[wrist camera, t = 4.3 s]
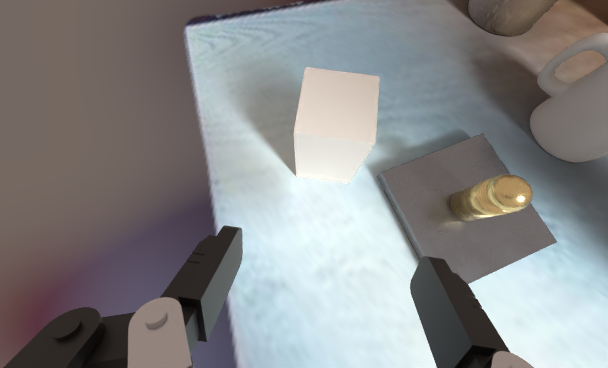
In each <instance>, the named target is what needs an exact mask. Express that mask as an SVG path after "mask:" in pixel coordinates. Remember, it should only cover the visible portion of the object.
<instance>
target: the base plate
mask: <svg viewBox="0 0 608 368" xmlns="http://www.w3.org/2000/svg"><path fill="white" fill-rule="evenodd" d="M378 179H379V181H380V183H381V185H382V187H383V189H384V191H385V193H386V195H387V197H388V199H389V201H390V203H391V205H392V207H393V208H394V210H395V212H396V214H397V216H398V218H399V220H400V222H401V224H402V226H403V228H404V230H405V232H406V234H407V236H408V238H409V240H410V242H411V243H412V245H413V247H414V249H415V251H416V253H417V255H418V257H419V259H420V260H421V259H422V257H423V256H428V257H435V258H442V259H444V260H445V261H446V262H447V264H448V266H449V267H450V269H451V271H452V272H453V273H457V274H458V275H459V276H460V277H461V278H462V279H463V280H464V281H465V282H466V283H467V284H469V283H471V282H473V281H475V280H478V279H480V278H482V277H484V276H486V275H488V274H490V273H492V272H494V271H497V270H499V269H501V268H503V267H505V266H507V265H509V264H511V263H514V262H516V261H518V260H520V259H522V258H524V257H526V256H528V255H530V254H533V253H535V252H537V251H539V250H541V249H543V248H545V247H547V246H550V245H552V244H554V243H556V242H557V241H556V239H555V238H554V236H553V235H552V233H551V232H550V231H549V229H548V228H547V226H546V225H545V223H544V222H543V220H542V219H541V217H540V216H539V215H538V213H537V212H536V210H535V209H534V207H533V206H532V204H531V203H530V202H531V200H532V197H533V191H532V188H531V186H530V185H529V183H528V182H527V181H526V180H524V179H523V178H521V177H518V176H515V175H511V174H510V173H509V171H508V170H507V168H506V167H505V165H504V164H503V162H502V161H501V159H500V158H499V157H498V155H497V154H496V152H495V151H494V149H493V148H492V146H491V145H490V144H489V142H488V141H487V139H486V138H485V136H484V135H483V133H482V134H480V135H477V136H475V137H472V138H469V139H467V140H464V141H462V142H459V143H456V144H454V145H451V146H449V147H446V148H444V149H441V150H438V151H436V152H433V153H431V154H428V155H425V156H423V157H420V158H418V159H415V160H412V161H410V162H407V163H405V164H402V165H400V166H397V167H394V168H392V169H389V170H387V171H384V172H382V173H381V174H380V175H379V176H378Z"/></svg>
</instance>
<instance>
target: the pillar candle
mask: <svg viewBox="0 0 608 368" xmlns="http://www.w3.org/2000/svg"><path fill="white" fill-rule="evenodd" d="M556 1H557V0H469V4H468V12H469V15H470V17H471V18H472V20H473V21H474V22H475V23H476V24H477V25H478V26H480V27H481V28H483V29H484V30H487V31H489V32H492V33H494V34H499V35H506V36H517V35H521V34H523V33H525V32H527V31H528V30H530V28H531V27H532V26H533V24H534V23H536V21H537V20H538V19H539V18H540V17H541V16H542V15H543V14H544V13H545V12H547V11H548V10H549V9H550V8H551V7H552V6H553V5H554V3H556Z"/></svg>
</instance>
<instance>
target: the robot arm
mask: <svg viewBox="0 0 608 368" xmlns="http://www.w3.org/2000/svg"><path fill="white" fill-rule="evenodd" d="M242 253H243V251H242V229H241V228H238V227H232V226H223V227H222V229H221V230H220V232H219V233H218V235H217V236H208V237H207V238H205V239H204V240H203V241H201V242H200V243H199V244H198V245H197V247H196V248H195V250H194V251H193V253H192V254H191V255H190V257H189V258H188V259H187V262H185V264H184V265H183V266H182V268H181V269H180V271H179V272H178V273H177V275H176V276H175V278H174V279H173V280H172V282H171V283H170V285H169V286H168V287H167V289H166V290H165V292H164V293H163V294H162V295H161V297H160V298H158V299H155V300H152V301H150V302H148V303H147V304H145V305H143V306H142V307H141V308H140V309H138V311H137V312H134V313H129V314H122V315H116V316H109V317H102V318H101V316H100V314H99V312H98V311H97V310H96V309H93V308H89V307H88V308H86V307H84V308H78V309H74V310H71V311H69V312H66V313H64V314H62V315H60V316H58V317H57V318H55V319H54V320H52V321H51V322H50V323H49V324H47V325H46V326H45V327H44V328H43V329H42V330H41V331H40V332H39V333H38V334H37V335H36V336H35V337H34V338H33V339H32V340H31V341H30V342H29V343H28V344H27V345H26V346H25V347H24V348H23V349H22V350H21V351H20V352H19V353H18V354H17V355H16V356H15V357H14V358H13V359H12V360H11V361H10V362H9V363H8V364H7V365H6V366H5V367H4V368H194V365H193V360H192V355H191V354H192V352H193V349H194V347H195V345H196V343H197V341H203V342H207V341H208V339H209V336H210V334H211V332H212V329H213V327H214V325H215V323H216V320H217V318H218V316H219V313H220V311H221V309H222V306H223V304H224V302H225V300H226V297H227V295H228V293H229V290H230V288H231V286H232V283H233V281H234V279H235V276H236V274H237V272H238V270H239V267H240V264H241V261H242ZM410 290H411V295H412V298H413V301H414V304H415V306H416V309H417V312H418V315H419V318H420V320H421V323H422V326H423V329H424V332H425V335H426V337H427V340H428V343H429V346H430V349H431V352H432V354H433V357H434V360H435V363H436V366H437V368H533V367H532V366H531V365H530V364H529V363H527V362H526V361H525V360H523V359H522V358H520V357H518V356H517V355H515V354H512V353H510V351H509V350H508V348H507V347H506V345H505V343H504V342H503V340H502V339H501V337H500V335H499V334H498V332H497V330H496V329H495V327H494V326H493V324H492V322H491V321H490V319H489V318H488V316H487V314H486V313H485V311H484V310H483V309H482V306H481V305H480V303H479V302H478V300H477V299H475V295H474V294H473V292H472V290H471V289H470V287H469V286H468V284H467V283H466V282H465V281H464V280H463V279H462V278H461V277H460V276H459V275H458V274H457V273H453V272H452V271H451V269H450V267H449V266H448V264H447V262H446V261H445V260H444V259H442V258H435V257H428V256H423V257H422V259H421V260H420V263H419V265H418V267H417V269H416V271H415V273H414V275H413V277H412V280H411V284H410Z"/></svg>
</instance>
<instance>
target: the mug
mask: <svg viewBox="0 0 608 368" xmlns="http://www.w3.org/2000/svg"><path fill="white" fill-rule="evenodd" d="M586 50H594V51H597V52H599V53H601V54H602V55H603V56H604V57H605V59H606V61H607V62H606V63H605V64H603V65H601V66H600V67H598V68H597V69H595V70H594V71H592V72H590V73H589V74H587V75H585V76H584V77H582V78H580V79H578V80H577V81H575V82H573V83H567V82H563V81H561V80H559V79H558V78H557V77H556V76H555V70H556V69H557V67H558V66H559V65H560V64H561V63H563V62H564V61H565V60H567V59H568V58H570V57H572V56H573V55H575V54H577V53H580V52H582V51H586ZM537 82H538V85H539V86H540V88H541V89H542V90H543V91H545V92H546V93H547V94H548V95H550V96H551V97H550V98H549V99H547V100H546V101H544V102H543V103H541V104H540V105H538V106H537V107H536V108H535V109H534V111H533V112H532V114H531V118H530V128H531V132H532V134H533V136H534V138H535V140H536V141H537V143H538V144H539V145H540V146H541V147H542V148H543V149H544V150H545V151H547V152H548V153H549V154H551V155H553V156H554V157H556V158H559V159H561V160H564V161H569V162H585V161H590V160H593V159H596V158H599V157H602V156H605V155H608V33H598V34H593V35H590V36H588V37H585V38H583V39H581V40H579V41H577V42H575V43H574V44H572V45H571V46H569V47H567V48H566V49H565V50H563V51H562V52H560V53H559V54H558V55H557V56H556V57H554V58H553V59H552V60H551V61H550V62H549V63H548V64H547V65H546V66H545V67H544V68H543V69H542V71H541V72H540V74H539V76H538V79H537Z"/></svg>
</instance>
